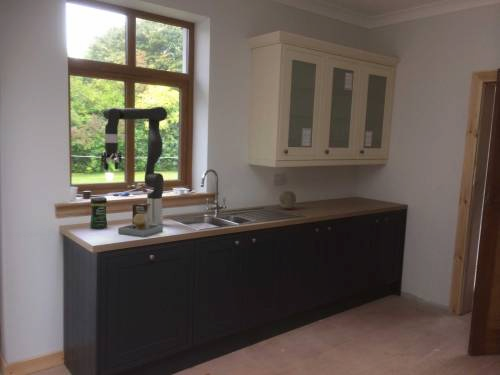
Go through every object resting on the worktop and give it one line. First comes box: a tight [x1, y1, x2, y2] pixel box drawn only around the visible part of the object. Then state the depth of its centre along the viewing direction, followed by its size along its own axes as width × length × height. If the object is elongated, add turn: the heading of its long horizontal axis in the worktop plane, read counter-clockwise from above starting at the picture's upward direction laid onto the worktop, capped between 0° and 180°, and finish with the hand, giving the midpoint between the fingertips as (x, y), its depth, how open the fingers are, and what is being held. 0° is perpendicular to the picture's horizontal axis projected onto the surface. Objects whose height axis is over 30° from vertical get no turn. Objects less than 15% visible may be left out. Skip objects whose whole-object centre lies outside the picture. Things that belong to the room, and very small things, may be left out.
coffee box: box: [131, 202, 150, 231], centre depth 252 cm, size 9×6×16 cm
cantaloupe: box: [279, 190, 297, 210], centre depth 358 cm, size 14×14×15 cm
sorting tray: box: [117, 224, 164, 238], centre depth 253 cm, size 18×18×4 cm
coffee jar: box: [89, 196, 108, 229], centre depth 263 cm, size 10×8×19 cm
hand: (111, 169), depth 255 cm, fingers open, 8 cm apart
